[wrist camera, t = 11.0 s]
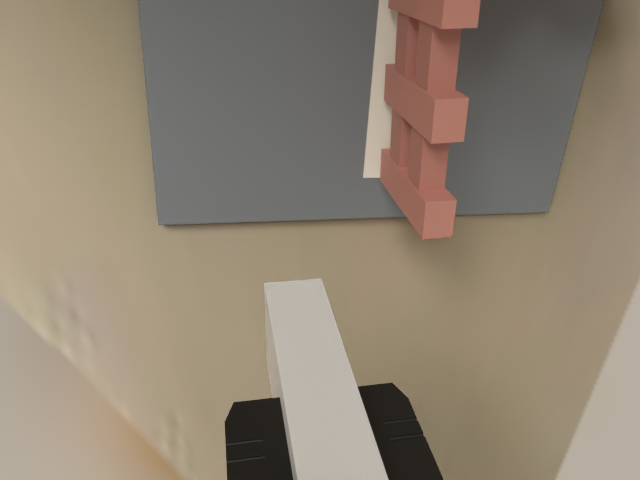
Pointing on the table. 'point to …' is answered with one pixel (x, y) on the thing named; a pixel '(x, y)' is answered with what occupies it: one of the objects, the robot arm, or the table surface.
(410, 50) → the fence gate
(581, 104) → the table surface
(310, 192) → the card
